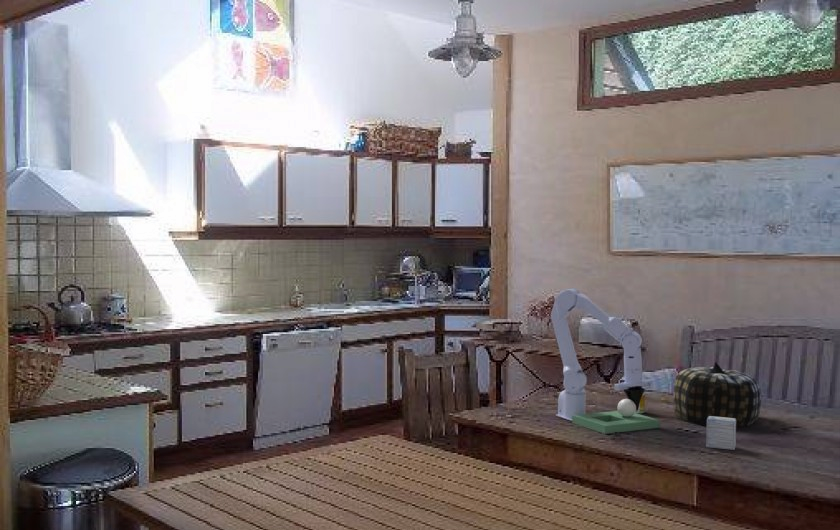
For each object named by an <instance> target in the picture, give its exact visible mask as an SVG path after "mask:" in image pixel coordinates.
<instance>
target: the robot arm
mask: <svg viewBox="0 0 840 530" xmlns="http://www.w3.org/2000/svg"><path fill="white" fill-rule="evenodd" d="M573 309H577V310H584V311H585V312H587V313H588V314H590V315H591V316H592V317H593V318H595V319H596V320H597V321H599V322H600V323H601V324H603V330H604V331H605V332H606V333H608V334H609V335H610V337H613V339H615V340H616V341H617V342H618V343H621V347H622V349H623V366H624V367H623V371H624V373H623V374H624V381H623V382H619V383H614V391H617V392H620V391H623V392H624V393H625V395H626V397H627V399H630V400H632V401H633V402H634V403H635V405H636V410H638V408H639V403H640V400H641V397H642V395H643V393H644V392H645V387H653V386H654V385H653V384H654V383H653V382H654V381H653V379H643V362H642V361H643V358H642V357H643V356H642V350H641V349H642V348H641V346H642V343H643V339H642V336H641V334H639V333H638V331H634V329H633V328H632V327H629V326H628V325H626V324H625V323H623V319H622V318H621V317H616V316H609V314H607V313H606V312H605V311H604V310H603V309H601V308H600V307H599V306H598V305H597V304H596V303H594V301H593V300H592V299H590V298H589V297H588V296H587V295H585V294H584V293H582V292H580V291H579V290H578V289H577V288H574V287H572V288H571V287H570V288H567V289H563V290H561V291H559V292H558V294H557V295H556V296H555V298H554V303H553V306H552V309H551V313H550V318H551V322H552V326H553V330H554V335H555V338H556V341H557V345H558V350H559V354H560V357H561V362H562V365H563V371H562V374H563V382H562V383H563V385H562V386H563V388H564V390H562V391H560V393H559V395H558V402H557V403H558V405H557V413H556V414H555V416H556V417H558V418H562V419H565V420H568V421H570V422H572V415H581V414H586V407H587V406H586V402H587V391H586V389H585V387H586V386H587V383H588V378H587V375H586V373H584V371H583V369H582V366H581V364H580V363H579V361H578V356H577V353H576V349H575V346H574V341H573V337H572V333H571V331H570V327H569V323H568V320H567V319H568V318H567V317H568V316H569V314H570V313H571V311H572V310H573ZM642 387H643V388H642Z"/></svg>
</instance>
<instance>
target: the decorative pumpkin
mask: <svg viewBox="0 0 840 530" xmlns="http://www.w3.org/2000/svg"><path fill="white" fill-rule="evenodd" d="M673 386H674V387H673V389H674V391H673V407H674V408H673V410H674V411H673V416H674V418H675V419H677V420H679V421H683V422H685V423H690V424H696V425H700V426H705V427H707V418H708V417H709V416H715V417H726V418H735V419H736V427H746V426H750V425H752V424H754V423H756V421H757V420H758V418H759V416H760V412H761V408H762V390H761V387H760V384H759V382H758V381H757V380H756V378H754V377H753V376H752V375H750V374H748V373H744V372H740V371H738V370H734V369H724V368H721V366H720V364H718V363H717V361H715V362H714V365H713V366H712V367H711V366H710V367H704V366H691V367H689V368H686V369H682V370H681V371H679V372H678V373H677V374H676V376H675V379H674V385H673Z"/></svg>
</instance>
